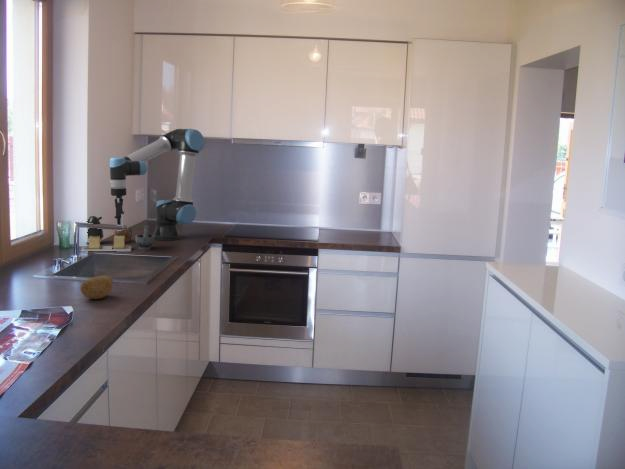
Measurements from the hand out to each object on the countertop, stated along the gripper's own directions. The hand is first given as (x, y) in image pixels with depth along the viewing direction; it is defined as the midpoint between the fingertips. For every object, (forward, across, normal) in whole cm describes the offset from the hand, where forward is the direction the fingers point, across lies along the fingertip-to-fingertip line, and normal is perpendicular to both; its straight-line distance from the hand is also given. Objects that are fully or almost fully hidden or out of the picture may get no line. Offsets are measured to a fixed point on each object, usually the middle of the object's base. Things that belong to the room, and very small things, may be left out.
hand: (119, 228), depth 289 cm
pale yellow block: (+11, 0, -13) cm, 17 cm away
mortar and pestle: (+12, -2, +12) cm, 17 cm away
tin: (+12, -22, 0) cm, 25 cm away
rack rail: (+11, 0, -7) cm, 13 cm away
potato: (+10, +92, -4) cm, 93 cm away
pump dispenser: (+11, -18, -15) cm, 26 cm away
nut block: (+11, 0, -1) cm, 11 cm away
